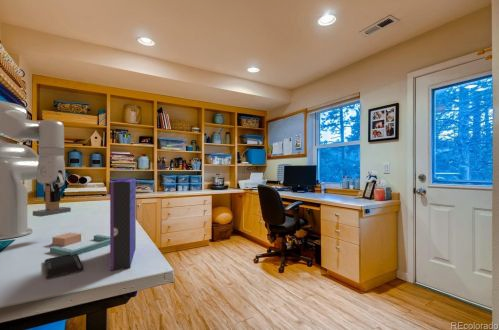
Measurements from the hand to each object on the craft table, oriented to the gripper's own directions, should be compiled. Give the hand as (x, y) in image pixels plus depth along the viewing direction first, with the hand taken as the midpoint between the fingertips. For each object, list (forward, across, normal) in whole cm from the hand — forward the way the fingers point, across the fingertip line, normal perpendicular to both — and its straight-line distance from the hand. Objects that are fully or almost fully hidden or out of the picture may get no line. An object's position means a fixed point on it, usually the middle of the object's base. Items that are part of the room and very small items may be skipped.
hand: (52, 200), depth 92 cm
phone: (+16, +30, -13) cm, 36 cm away
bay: (+15, +19, 0) cm, 24 cm away
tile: (+15, +9, 0) cm, 18 cm away
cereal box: (+16, +41, -2) cm, 44 cm away
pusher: (+5, 0, 0) cm, 5 cm away
